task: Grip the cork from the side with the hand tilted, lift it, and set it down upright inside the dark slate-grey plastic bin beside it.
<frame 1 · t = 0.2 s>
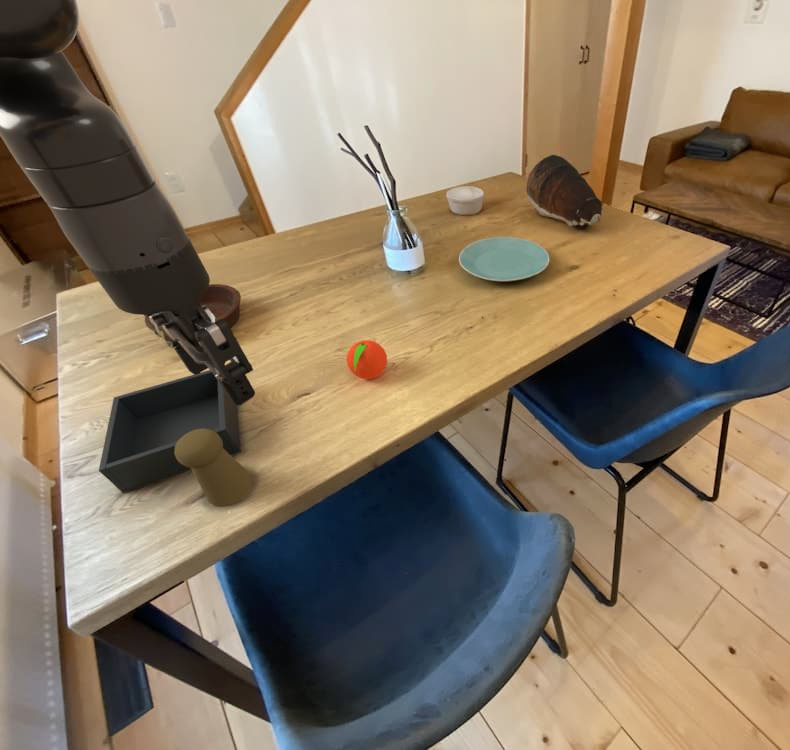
hand: (223, 384, 48), 21 cm above the table, tool pointing down, fingers open, 8 cm apart
plate: (504, 267, 108), on the table
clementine: (370, 376, 80), on the table
taro root: (566, 220, 128), on the table
ramekin: (466, 210, 135), on the table
bin: (185, 435, 70), on the table
dish: (205, 326, 92), on the table
cork: (231, 488, 63), on the table
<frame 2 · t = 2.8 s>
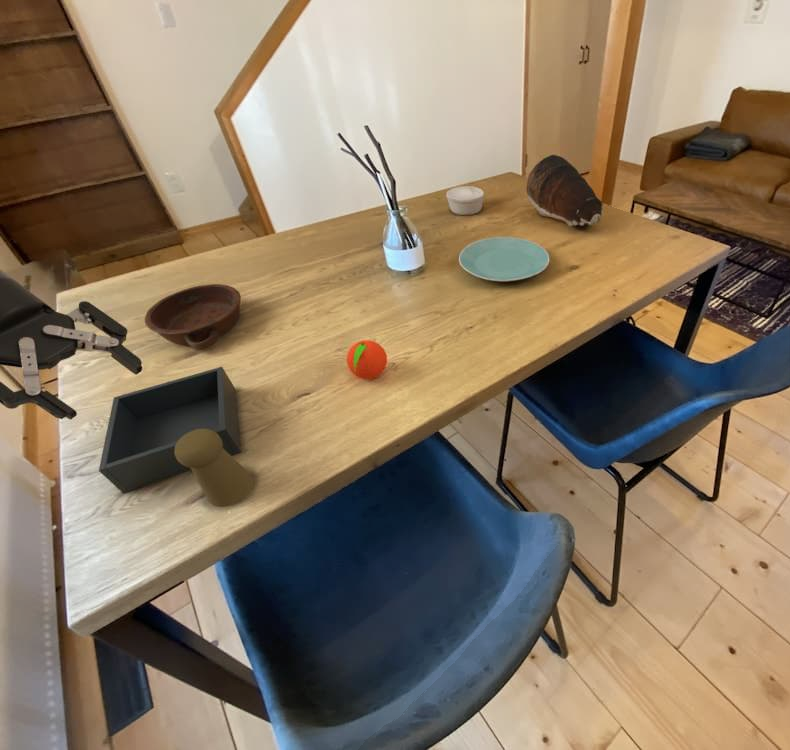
hand: (108, 392, 55), 16 cm above the table, tool tilted 45°, fingers open, 8 cm apart
nothing on the table moved.
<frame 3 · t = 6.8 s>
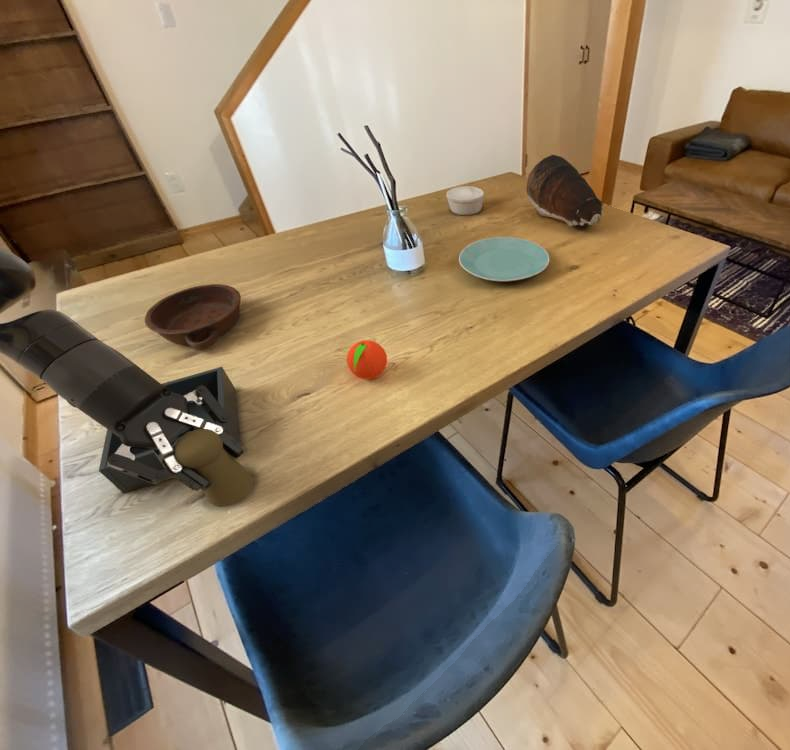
hand: (224, 470, 59), 5 cm above the table, tool tilted 45°, fingers closed on cork, 5 cm apart
cork: (231, 488, 63), on the table, touching gripper
everything else where it was.
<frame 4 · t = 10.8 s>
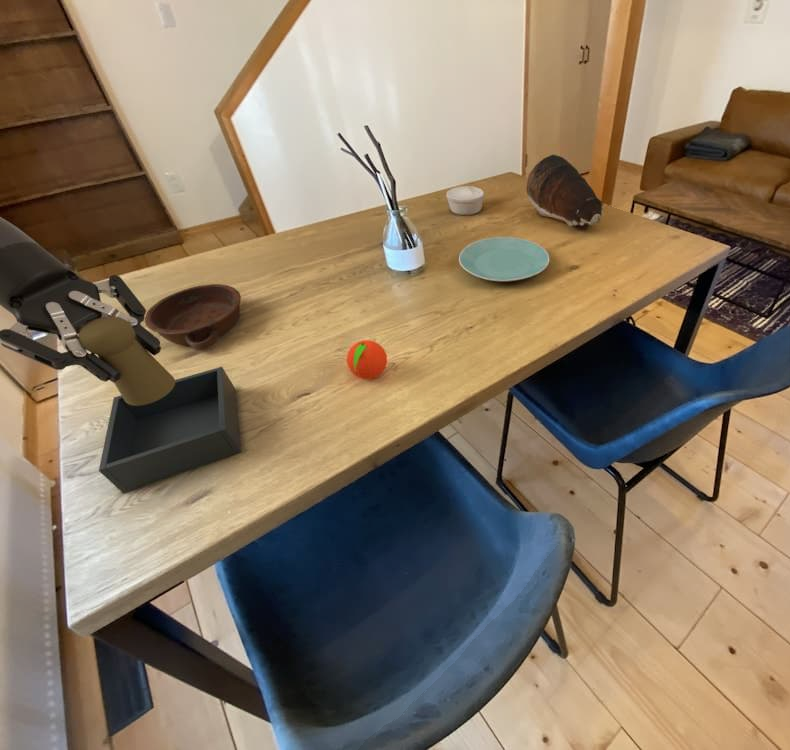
hand: (138, 364, 55), 18 cm above the table, tool tilted 45°, fingers closed on cork, 5 cm apart
cork: (151, 390, 59), point 13 cm above the table, touching gripper
everything else where it was.
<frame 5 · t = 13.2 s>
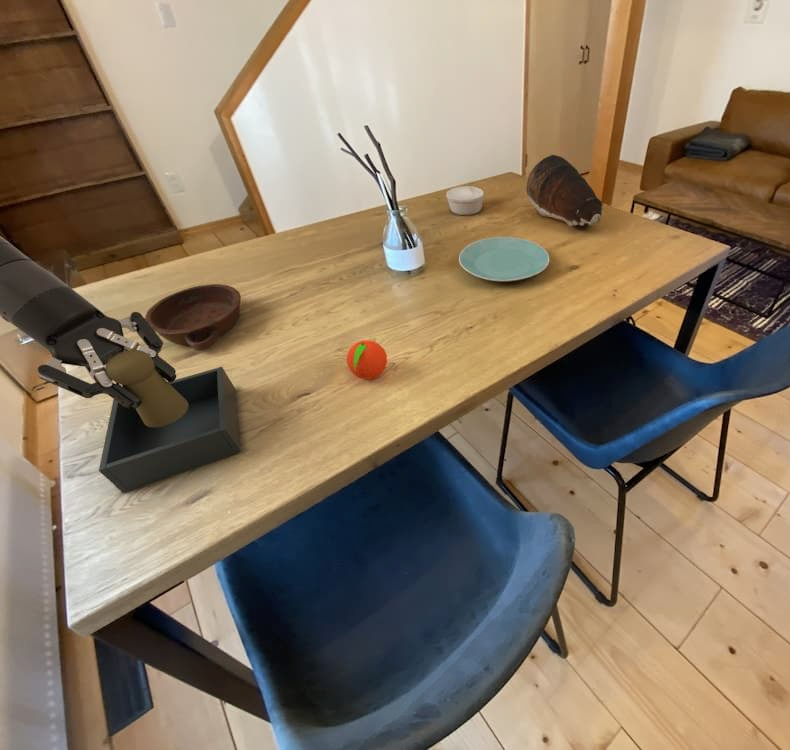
hand: (156, 391, 62), 11 cm above the table, tool tilted 45°, fingers closed on cork, 5 cm apart
cork: (167, 413, 66), point 5 cm above the table, touching gripper
everything else where it was.
when the fingers open (6 cm above the table, at t = 15.1 s): cork stays where it is, resting on bin.
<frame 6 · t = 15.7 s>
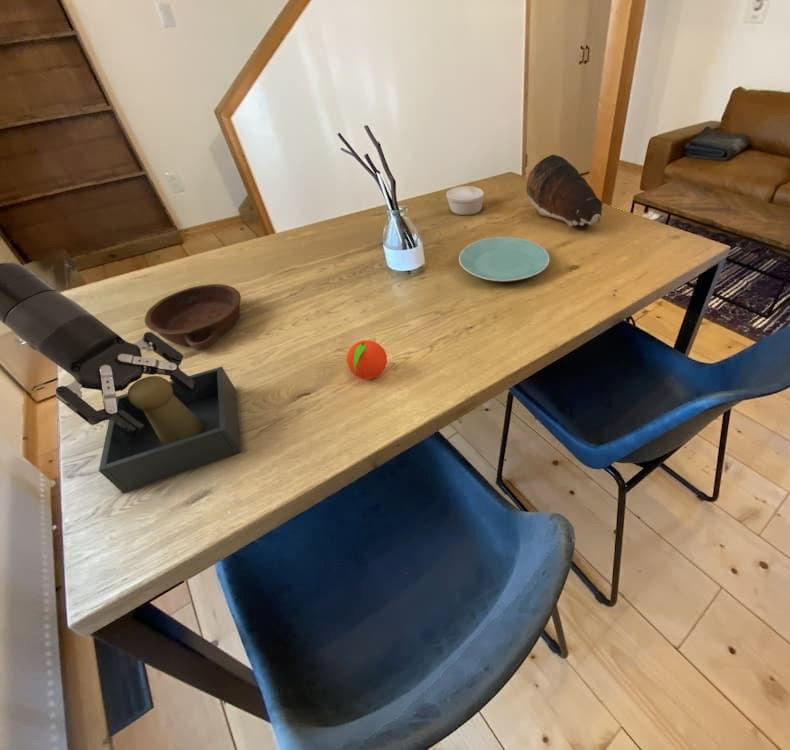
hand: (169, 409, 65), 7 cm above the table, tool tilted 45°, fingers open, 8 cm apart
cork: (183, 434, 70), resting on bin
everything else where it was.
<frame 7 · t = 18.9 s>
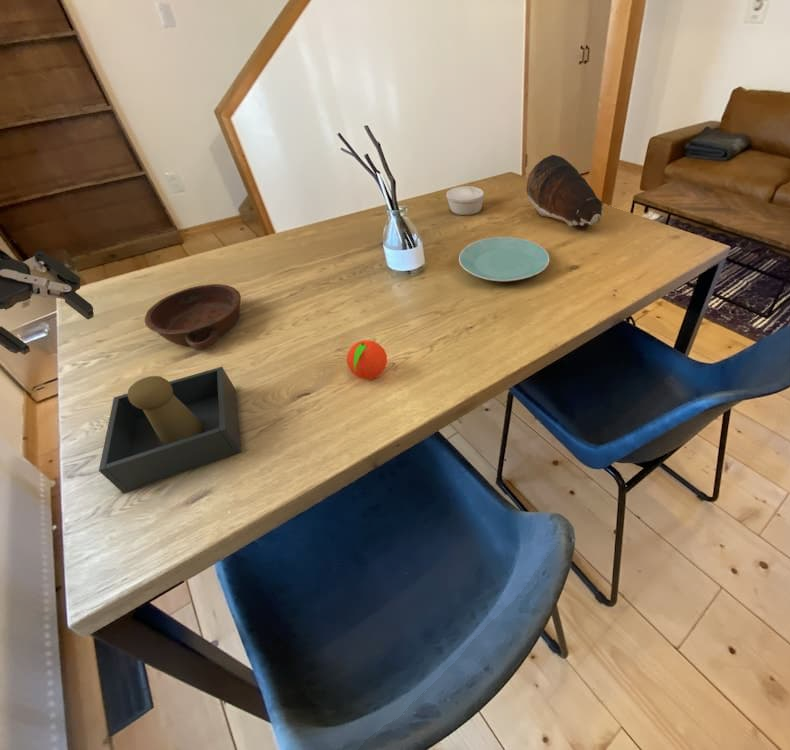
hand: (60, 332, 61), 18 cm above the table, tool tilted 45°, fingers open, 8 cm apart
nothing on the table moved.
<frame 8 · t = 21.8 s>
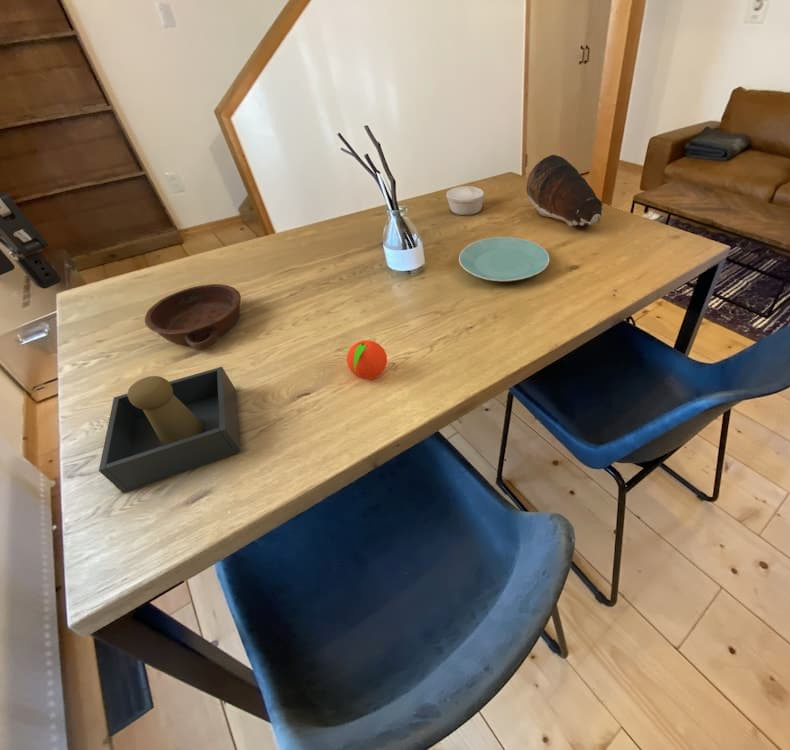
hand: (27, 278, 51), 28 cm above the table, tool pointing down, fingers open, 8 cm apart
nothing on the table moved.
at the end: cork inside the target area in the bin (0.1 cm from its centre), point 0.3 cm above the bin's base; cork tilted 0°; the gripper is holding nothing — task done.
